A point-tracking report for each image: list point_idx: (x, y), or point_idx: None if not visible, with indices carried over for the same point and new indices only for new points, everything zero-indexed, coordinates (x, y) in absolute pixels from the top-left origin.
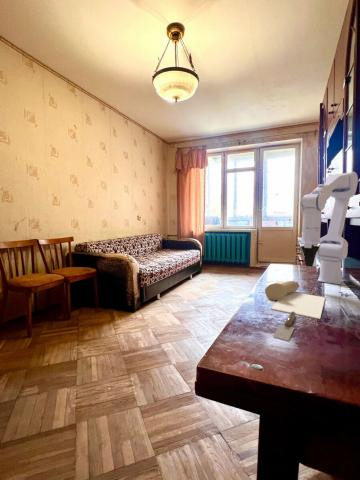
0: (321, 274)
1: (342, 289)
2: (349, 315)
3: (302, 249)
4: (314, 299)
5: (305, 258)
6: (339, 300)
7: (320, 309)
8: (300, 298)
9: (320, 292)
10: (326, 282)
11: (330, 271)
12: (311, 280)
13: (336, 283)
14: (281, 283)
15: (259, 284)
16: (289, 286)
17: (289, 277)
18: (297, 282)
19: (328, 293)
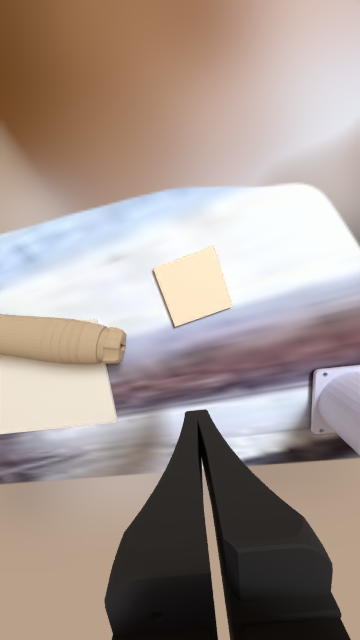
0: (352, 391)
1: (251, 439)
2: (26, 473)
3: (129, 534)
4: (72, 405)
5: (178, 450)
6: (126, 447)
7: (2, 430)
8: (51, 376)
9: (171, 400)
10: (312, 395)
11: (353, 437)
12: (324, 347)
13: (311, 422)
14: (183, 277)
15: (123, 202)
16: (21, 357)
17: (331, 265)
18: (109, 362)
19: (176, 418)
